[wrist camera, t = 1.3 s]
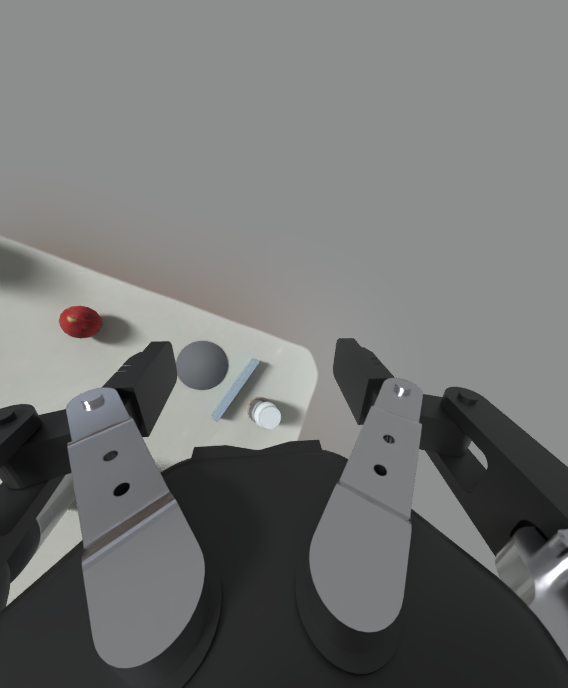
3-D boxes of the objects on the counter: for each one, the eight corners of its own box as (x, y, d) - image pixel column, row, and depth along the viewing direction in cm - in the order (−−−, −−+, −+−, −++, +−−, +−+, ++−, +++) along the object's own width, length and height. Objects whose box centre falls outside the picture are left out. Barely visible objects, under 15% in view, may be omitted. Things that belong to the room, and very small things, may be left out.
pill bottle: (272, 405, 61) (288, 414, 52) (258, 424, 60) (272, 437, 50) (256, 392, 60) (269, 398, 51) (241, 411, 58) (252, 421, 49)
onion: (103, 308, 48) (89, 299, 41) (109, 336, 48) (96, 333, 41) (66, 311, 46) (45, 303, 38) (72, 341, 46) (52, 338, 39)
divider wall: (214, 417, 56) (217, 421, 52) (211, 415, 55) (213, 419, 52) (255, 361, 60) (259, 361, 56) (251, 358, 60) (256, 359, 56)
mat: (207, 398, 55) (207, 399, 55) (164, 371, 52) (164, 371, 52) (236, 359, 58) (236, 359, 58) (197, 331, 55) (197, 331, 54)
